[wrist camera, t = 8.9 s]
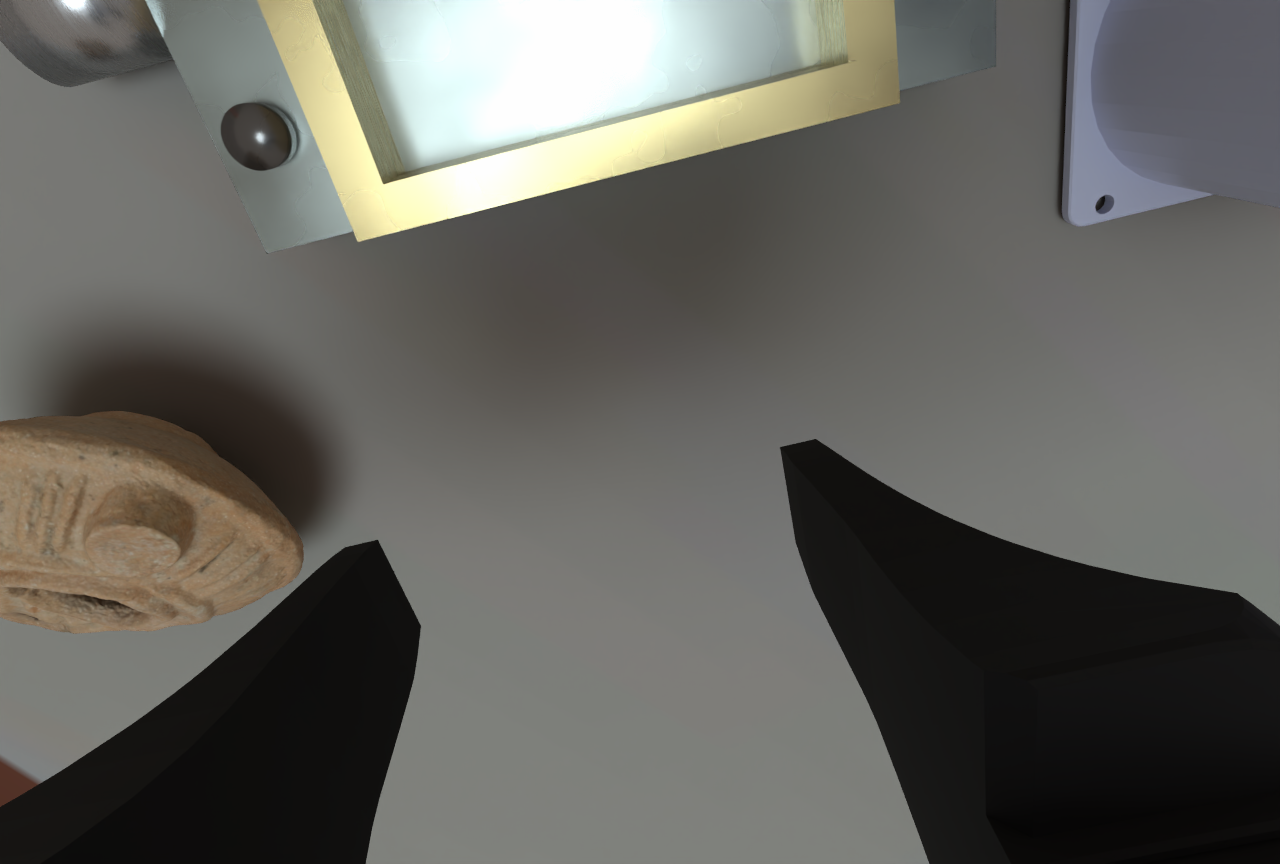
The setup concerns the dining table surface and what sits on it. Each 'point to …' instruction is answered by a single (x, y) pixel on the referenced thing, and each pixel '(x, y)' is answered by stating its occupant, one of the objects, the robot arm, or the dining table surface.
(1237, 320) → the dining table surface
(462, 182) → the metal tray
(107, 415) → the pottery oil lamp
